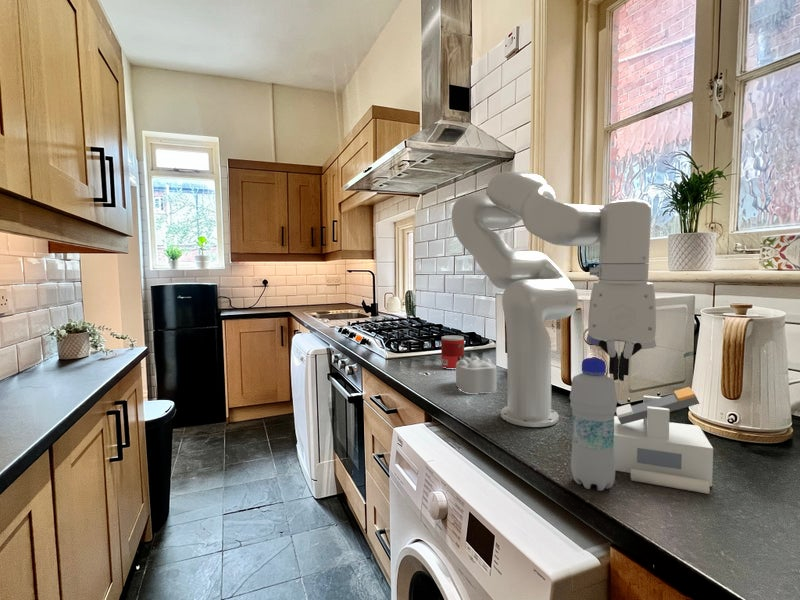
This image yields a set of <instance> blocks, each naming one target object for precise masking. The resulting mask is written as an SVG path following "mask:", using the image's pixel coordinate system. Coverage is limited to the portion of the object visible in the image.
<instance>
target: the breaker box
mask: <svg viewBox="0 0 800 600" xmlns="http://www.w3.org/2000/svg"><path fill="white" fill-rule="evenodd" d="M661 397H662V396H652V395H643V397H642V398H643V402H642V403H644V402H647V401H651V400H654V399H658V398H661ZM670 413H671V411H670V410H669V408H660V407H650V406H647V418H644V419H641V420H637V421H633V422H630V423H626V424H622V425H621V423H620V421H619V419H618V417H617V415H614V458H615V472H616V471H617V472H623V473H630V474H631V468H632V469H638V470H644V471H650V472H656V473H662V474H669V475H675V476H681V477H687V478H693V479H699V480H706V481H708V482H709V487H713V466H714V448H713V446H712V444H711V443H710V441H709V440H708V439H709V438H707V436H706V435H705V432H704V431H703V430H702V429H701V427H700V425H697V424H686V423H680V422H679V423H677V422H670Z"/></svg>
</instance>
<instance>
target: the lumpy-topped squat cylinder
mask: <svg viewBox="0 0 800 600" xmlns="http://www.w3.org/2000/svg"><path fill="white" fill-rule="evenodd" d="M456 386H457V387H458V388H459V389H461V390H462V391H464V392H468V393H480V392H495V391H496V390H498V389H497V366H496V365H495V363H493V362H492V360H491V359H490V358H488V357H485V358H483V359H480V358H479V356H472V357H471V358H470V357H467V356H464V359H463V360H459V361H458V362H457V363H456V370H455V387H456ZM496 392H497V391H496ZM496 392H495V393H496Z"/></svg>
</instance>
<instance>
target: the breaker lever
mask: <svg viewBox="0 0 800 600" xmlns="http://www.w3.org/2000/svg"><path fill="white" fill-rule="evenodd" d="M673 392H674V393H673V394H670V395H669V394H668V395H665V396H660V397H661V398H658V399H654V400H651V401H647V402H644V403H643V402H641V403H637V404H634V405H631V404H630V403H628V404H624V405H621V406H616V408H617V410H616V412H615V413H616V416H617V417H618V419H619V421H620V423H621V425H622V424H626V423H630V422H633V421H637V420H641V419H644V418H647V406H650V407H660V408H669V410H670V412H673V411H677V410H681V409H684V408H685V409H686V408H690V407H693V406H696V405H700V404H701V403H700V402H699V400H698V398H697V396H696V393H694V391H693V390H692V388H691V387H690V386H686V387H684V388H680V389H676V390H673Z"/></svg>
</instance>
